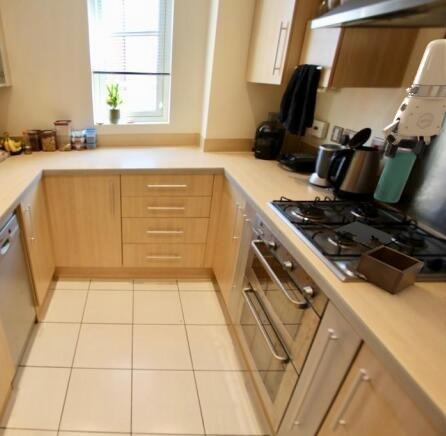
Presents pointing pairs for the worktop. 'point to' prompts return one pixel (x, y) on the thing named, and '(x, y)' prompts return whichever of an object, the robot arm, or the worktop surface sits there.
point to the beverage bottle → (396, 173)
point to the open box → (389, 268)
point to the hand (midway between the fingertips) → (402, 156)
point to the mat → (365, 232)
